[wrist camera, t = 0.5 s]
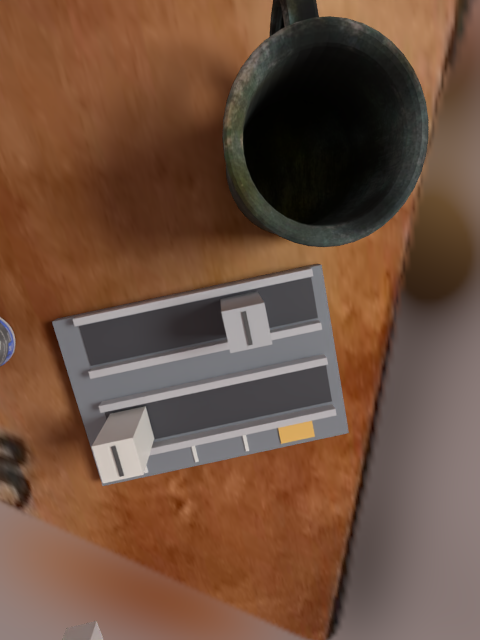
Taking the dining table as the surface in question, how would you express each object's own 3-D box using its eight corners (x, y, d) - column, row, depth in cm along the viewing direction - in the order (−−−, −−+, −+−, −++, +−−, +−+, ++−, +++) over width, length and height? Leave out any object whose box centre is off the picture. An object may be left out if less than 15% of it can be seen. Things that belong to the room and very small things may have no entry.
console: (57, 318, 35) (20, 339, 29) (317, 263, 35) (341, 271, 29) (106, 478, 38) (83, 530, 32) (344, 426, 39) (371, 467, 32)
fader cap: (110, 413, 36) (91, 447, 30) (145, 406, 36) (132, 438, 30) (119, 445, 36) (102, 484, 31) (154, 438, 36) (143, 475, 31)
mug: (233, 251, 35) (242, 263, 23) (199, 56, 32) (190, -45, 20) (363, 228, 35) (438, 228, 23) (342, 32, 32) (416, -82, 20)
